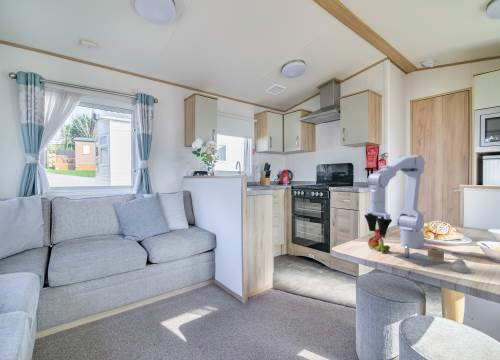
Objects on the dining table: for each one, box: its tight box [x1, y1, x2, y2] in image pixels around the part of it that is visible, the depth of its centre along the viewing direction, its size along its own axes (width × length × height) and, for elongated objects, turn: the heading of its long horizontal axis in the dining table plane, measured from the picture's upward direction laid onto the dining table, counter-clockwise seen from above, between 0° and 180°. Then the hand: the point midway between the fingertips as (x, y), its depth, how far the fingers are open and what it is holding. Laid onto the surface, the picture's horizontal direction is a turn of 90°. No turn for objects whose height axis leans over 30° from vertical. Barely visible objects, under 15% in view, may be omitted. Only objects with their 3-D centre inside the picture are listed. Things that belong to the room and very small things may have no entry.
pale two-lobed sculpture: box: [450, 258, 471, 274], centre depth 86 cm, size 4×8×5 cm
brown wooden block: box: [427, 247, 445, 263], centre depth 95 cm, size 5×5×4 cm
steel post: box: [404, 244, 410, 258], centre depth 98 cm, size 2×2×6 cm
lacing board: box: [393, 252, 450, 268], centre depth 97 cm, size 14×13×1 cm
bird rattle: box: [367, 228, 391, 254], centre depth 109 cm, size 6×11×9 cm
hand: (377, 233), depth 103 cm, fingers open, 7 cm apart
